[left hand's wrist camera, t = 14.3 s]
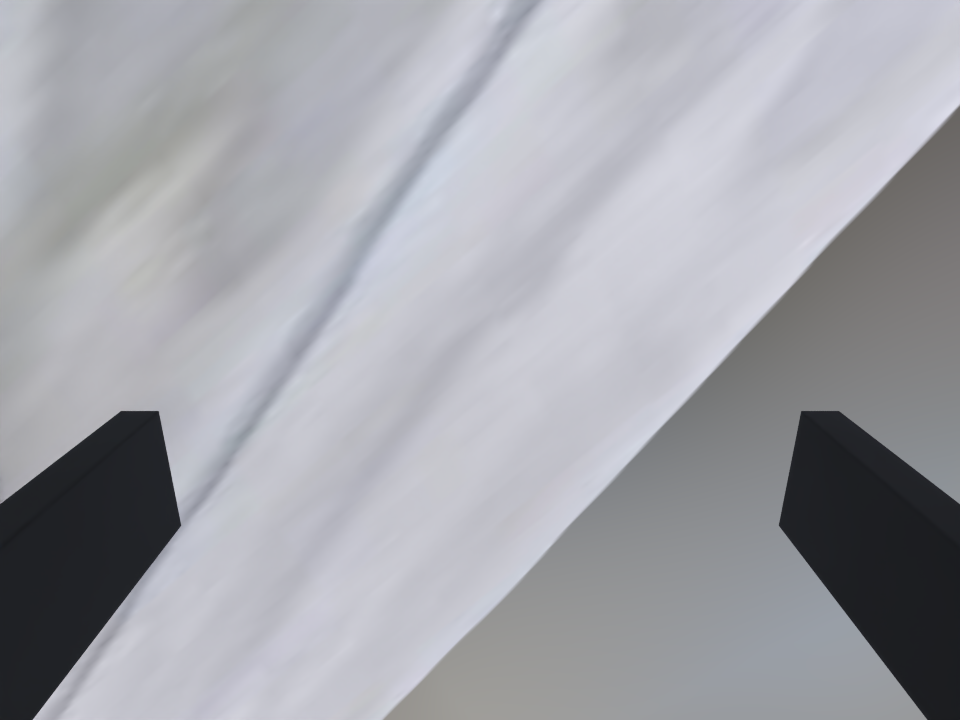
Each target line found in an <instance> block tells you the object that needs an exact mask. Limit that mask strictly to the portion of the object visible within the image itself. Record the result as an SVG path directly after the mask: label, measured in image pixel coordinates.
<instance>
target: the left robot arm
mask: <svg viewBox="0 0 960 720" xmlns="http://www.w3.org/2000/svg"><path fill="white" fill-rule="evenodd" d="M180 526H181V522H180V517H179V512H178V507H177V502H176V497H175V492H174V487H173V482H172V477H171V472H170V467H169V461H168V456H167V451H166V446H165V441H164V436H163V431H162V426H161V421H160V416H159V411H121V412H119V413H118V414H117V415H115V416H114V417H113V418H112V419H110V420H109V421H108V422H106V423H105V424H104V425H103V426H101V427H100V428H99V429H97V430H96V431H95V432H93V433H92V434H91V435H90V436H88V437H87V438H86V439H84V440H83V441H82V442H80V443H79V444H78V445H77V446H75V447H74V448H73V449H71V450H70V451H69V452H67V453H66V454H65V455H64V456H62V457H61V458H60V459H58V460H57V461H56V462H54V463H53V464H52V465H51V466H49V467H48V468H47V469H45V470H44V471H43V472H41V473H40V474H39V475H38V476H36V477H35V478H34V479H32V480H31V481H30V482H28V483H27V484H26V485H25V486H23V487H22V488H21V489H19V490H18V491H17V492H15V493H14V494H13V495H12V496H10V497H9V498H8V499H6V500H5V501H4V502H3V503H1V504H0V720H33V718H34V717H35V716H36V715H37V713H38V712H39V711H40V709H41V708H42V707H43V705H44V704H45V703H46V701H47V700H48V699H49V698H50V696H51V695H52V694H53V692H54V691H55V690H56V688H57V687H58V686H59V684H60V683H61V682H62V681H63V679H64V678H65V677H66V675H67V674H68V673H69V671H70V670H71V669H72V668H73V666H74V665H75V664H76V662H77V661H78V660H79V658H80V657H81V656H82V654H83V653H84V652H85V651H86V649H87V648H88V647H89V645H90V644H91V643H92V641H93V640H94V639H95V637H96V636H97V635H98V634H99V632H100V631H101V630H102V628H103V627H104V626H105V624H106V623H107V622H108V620H109V619H110V618H111V617H112V615H113V614H114V613H115V611H116V610H117V609H118V607H119V606H120V605H121V603H122V602H123V601H124V600H125V598H126V597H127V596H128V594H129V593H130V592H131V590H132V589H133V588H134V586H135V585H136V584H137V583H138V581H139V580H140V579H141V577H142V576H143V575H144V573H145V572H146V571H147V569H148V568H149V567H150V566H151V564H152V563H153V562H154V560H155V559H156V558H157V556H158V555H159V554H160V552H161V551H162V550H163V549H164V547H165V546H166V545H167V543H168V542H169V541H170V539H171V538H172V537H173V535H174V534H175V533H176V532H177V530H178V529H179V528H180ZM779 526H780V528H781V529H782V530H783V532H784V533H785V534H786V535H787V537H788V538H789V539H790V541H791V542H792V543H793V545H794V546H795V547H796V549H797V550H798V551H799V552H800V554H801V555H802V556H803V558H804V559H805V560H806V562H807V563H808V564H809V566H810V567H811V568H812V569H813V571H814V572H815V573H816V575H817V576H818V577H819V579H820V580H821V581H822V583H823V584H824V585H825V586H826V588H827V589H828V590H829V592H830V593H831V594H832V596H833V597H834V598H835V600H836V601H837V602H838V603H839V605H840V606H841V607H842V609H843V610H844V611H845V613H846V614H847V615H848V617H849V618H850V619H851V620H852V622H853V623H854V624H855V626H856V627H857V628H858V630H859V631H860V632H861V634H862V635H863V636H864V637H865V639H866V640H867V641H868V643H869V644H870V645H871V647H872V648H873V649H874V650H875V652H876V653H877V654H878V656H879V657H880V658H881V660H882V661H883V662H884V664H885V665H886V666H887V668H888V669H889V670H890V671H891V673H892V674H893V675H894V677H895V678H896V679H897V681H898V682H899V683H900V684H901V686H902V687H903V688H904V690H905V691H906V692H907V694H908V695H909V696H910V698H911V699H912V700H913V701H914V703H915V704H916V705H917V707H918V708H919V709H920V711H921V712H922V713H923V715H924V716H925V717H926V718H927V720H960V504H959V503H957V502H956V501H955V500H954V499H952V498H951V497H950V496H948V495H947V494H946V493H944V492H943V491H942V490H941V489H939V488H938V487H937V486H935V485H934V484H933V483H931V482H930V481H929V480H928V479H926V478H925V477H924V476H922V475H921V474H920V473H919V472H917V471H916V470H915V469H913V468H912V467H911V466H909V465H908V464H907V463H906V462H904V461H903V460H902V459H900V458H899V457H898V456H896V455H895V454H894V453H893V452H891V451H890V450H889V449H887V448H886V447H885V446H883V445H882V444H881V443H880V442H878V441H877V440H876V439H874V438H873V437H872V436H870V435H869V434H868V433H867V432H865V431H864V430H863V429H861V428H860V427H859V426H857V425H856V424H855V423H854V422H852V421H851V420H850V419H848V418H847V417H846V416H844V415H843V414H842V413H841V412H839V411H801V416H800V421H799V426H798V431H797V436H796V441H795V446H794V451H793V457H792V461H791V467H790V472H789V477H788V482H787V487H786V492H785V497H784V502H783V507H782V512H781V518H780V523H779Z"/></svg>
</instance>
